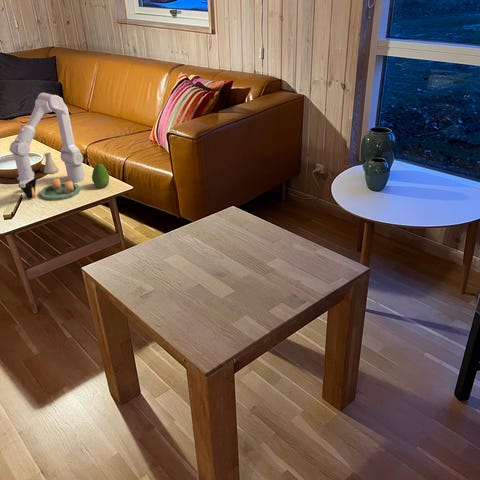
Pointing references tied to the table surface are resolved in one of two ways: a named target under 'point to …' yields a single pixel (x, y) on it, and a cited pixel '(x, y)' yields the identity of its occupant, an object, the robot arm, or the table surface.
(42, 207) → the table surface
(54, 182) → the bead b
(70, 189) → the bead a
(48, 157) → the flask
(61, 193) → the tray
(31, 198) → the pale orange egg
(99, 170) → the avocado
